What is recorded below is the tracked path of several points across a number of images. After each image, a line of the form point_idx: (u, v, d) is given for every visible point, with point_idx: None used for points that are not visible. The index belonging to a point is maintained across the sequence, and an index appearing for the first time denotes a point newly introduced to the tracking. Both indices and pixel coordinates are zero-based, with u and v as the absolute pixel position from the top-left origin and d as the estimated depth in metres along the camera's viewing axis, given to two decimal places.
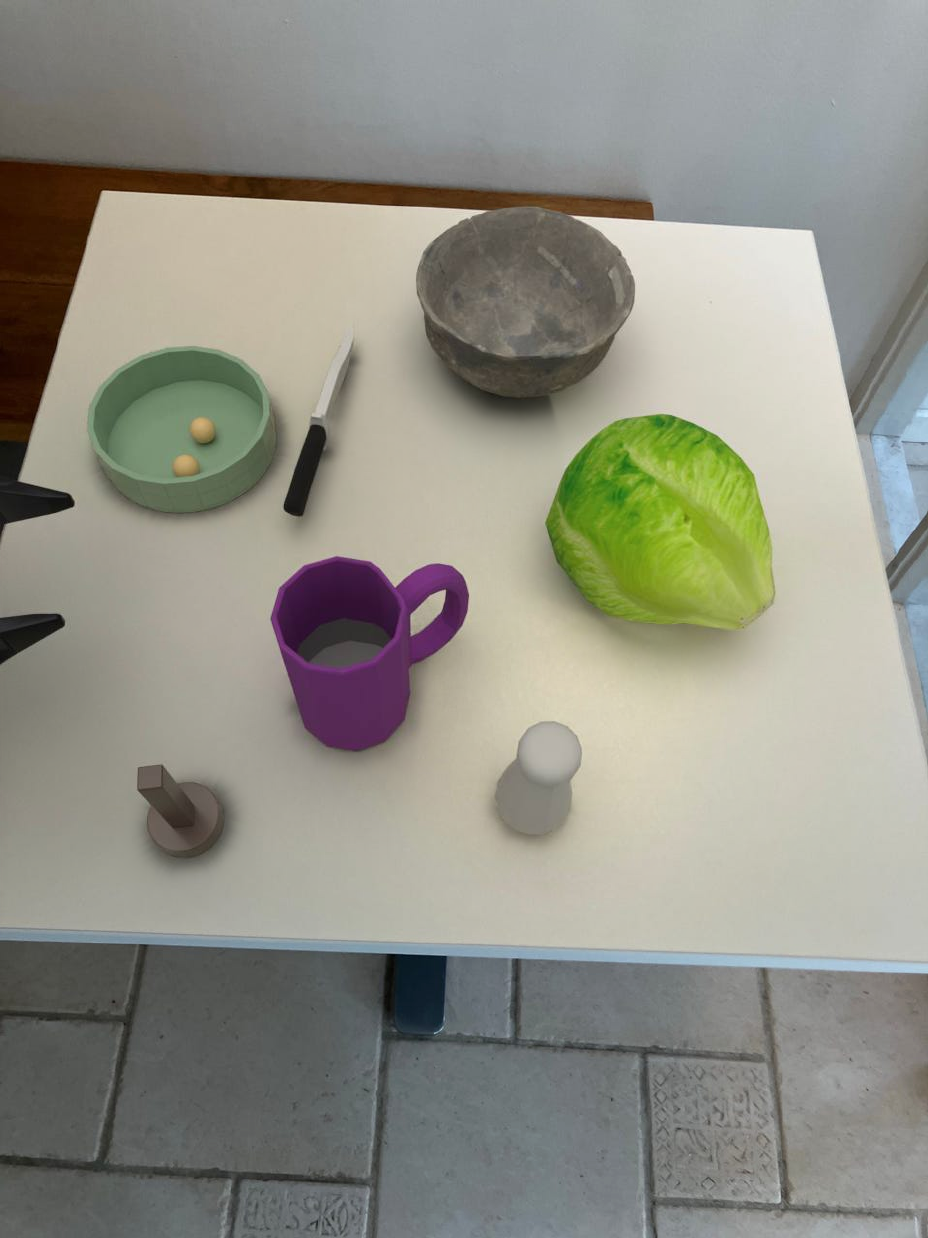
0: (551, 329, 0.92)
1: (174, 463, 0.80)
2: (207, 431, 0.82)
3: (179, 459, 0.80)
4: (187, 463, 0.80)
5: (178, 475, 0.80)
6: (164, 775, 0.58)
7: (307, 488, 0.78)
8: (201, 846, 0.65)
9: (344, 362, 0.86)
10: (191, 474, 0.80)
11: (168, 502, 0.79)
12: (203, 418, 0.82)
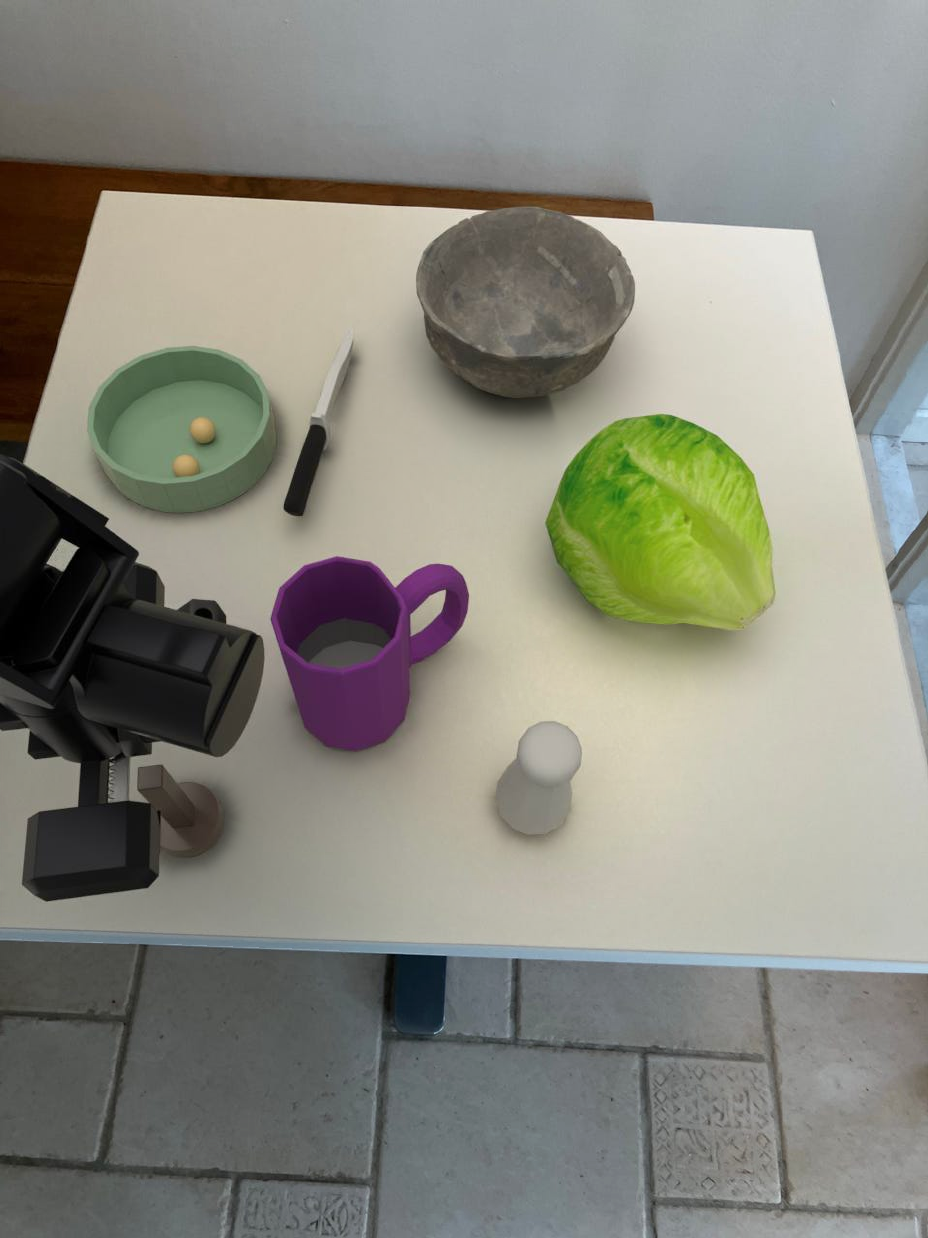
0: (551, 329, 0.92)
1: (174, 463, 0.80)
2: (207, 431, 0.82)
3: (179, 459, 0.80)
4: (187, 463, 0.80)
5: (178, 475, 0.80)
6: (164, 775, 0.58)
7: (307, 488, 0.78)
8: (201, 846, 0.65)
9: (344, 362, 0.86)
10: (191, 474, 0.80)
11: (168, 502, 0.79)
12: (203, 418, 0.82)
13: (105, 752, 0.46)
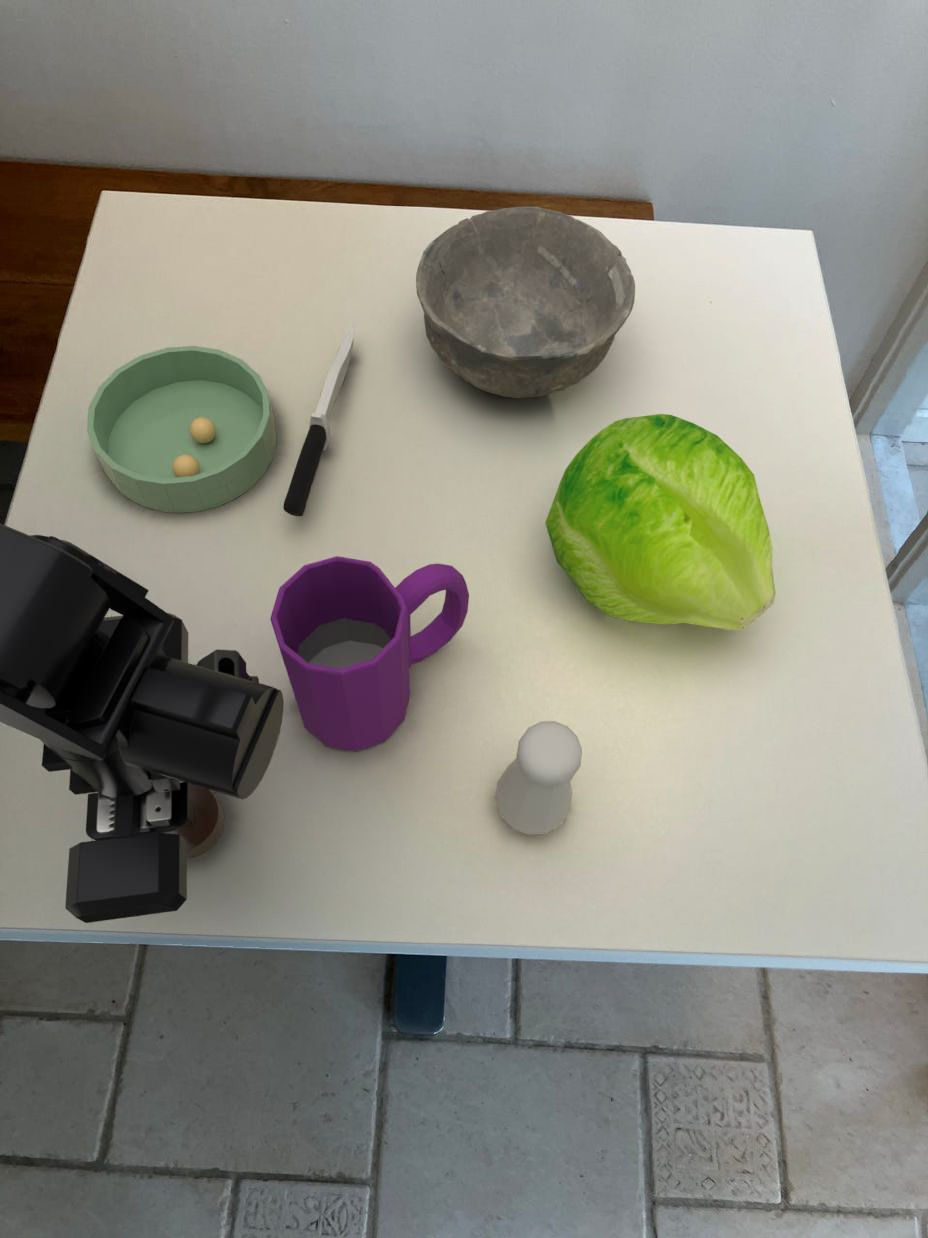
0: (551, 329, 0.92)
1: (174, 463, 0.80)
2: (207, 431, 0.82)
3: (179, 459, 0.80)
4: (187, 463, 0.80)
5: (178, 475, 0.80)
6: None
7: (307, 488, 0.78)
8: (201, 846, 0.65)
9: (344, 362, 0.86)
10: (191, 474, 0.80)
11: (168, 502, 0.79)
12: (203, 418, 0.82)
13: (138, 788, 0.51)
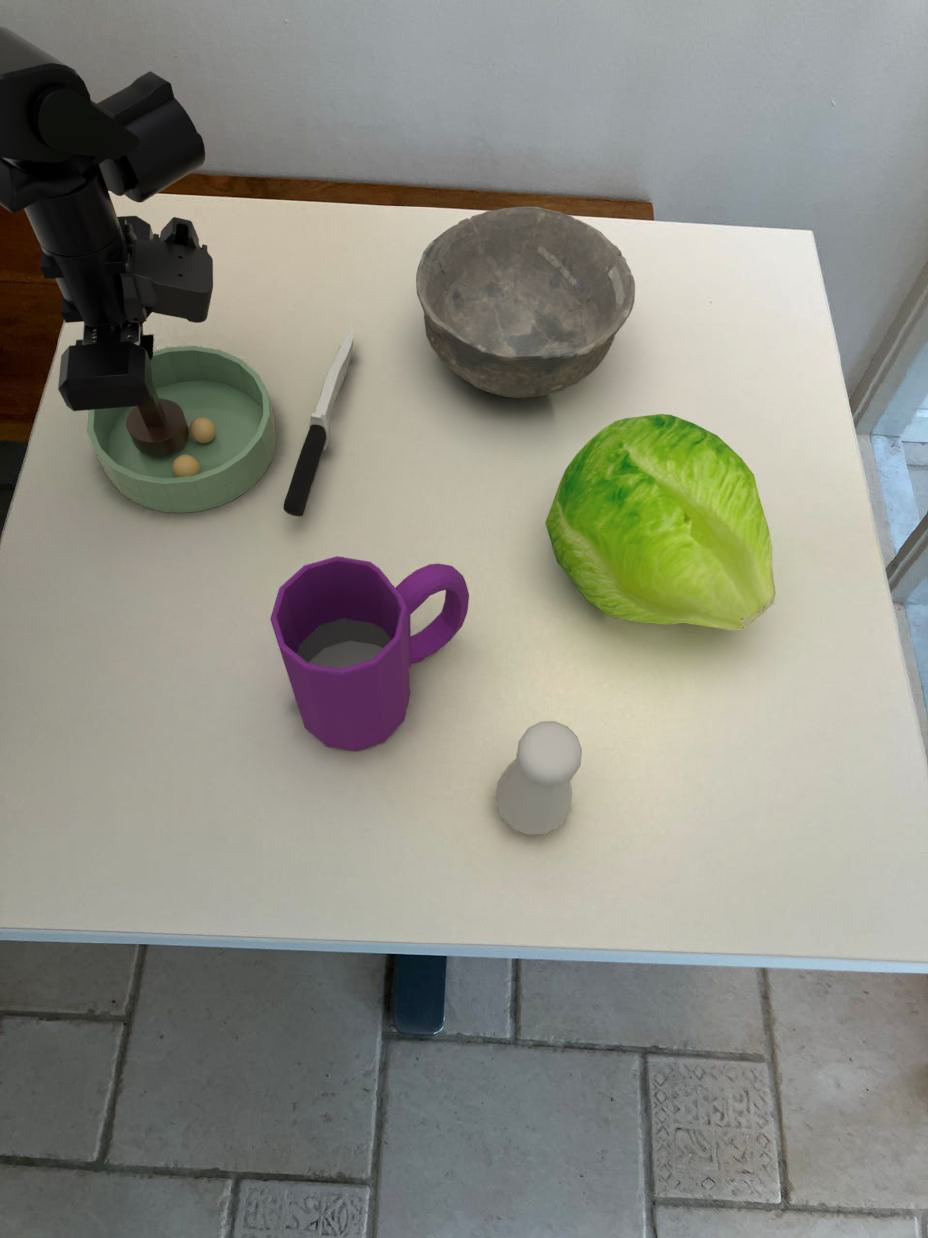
0: (551, 329, 0.92)
1: (174, 463, 0.80)
2: (207, 431, 0.82)
3: (179, 459, 0.80)
4: (187, 463, 0.80)
5: (178, 475, 0.80)
6: None
7: (307, 488, 0.78)
8: (169, 441, 0.80)
9: (344, 362, 0.86)
10: (191, 474, 0.80)
11: (168, 502, 0.79)
12: (203, 418, 0.82)
13: (114, 316, 0.67)
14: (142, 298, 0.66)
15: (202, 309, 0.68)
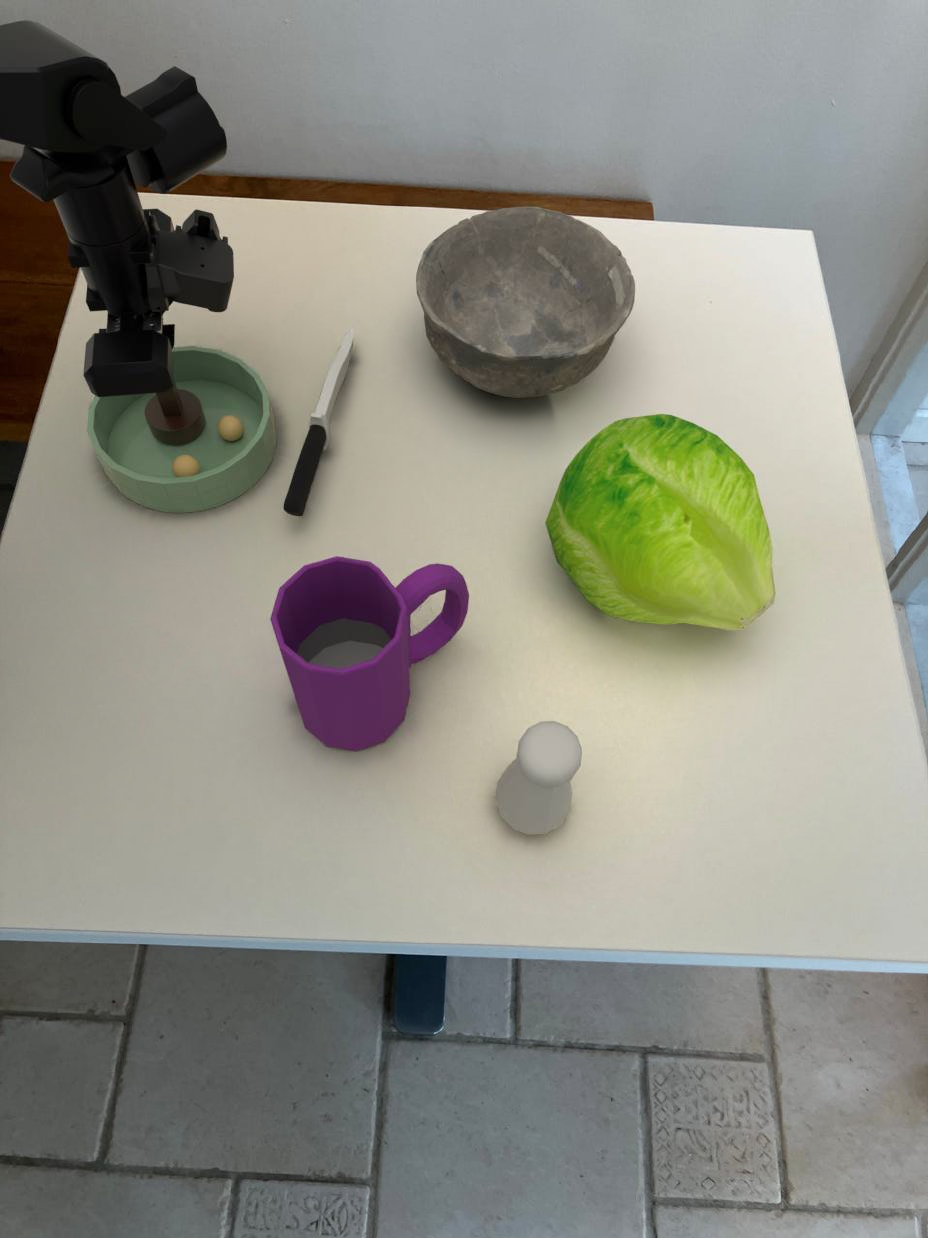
0: (551, 329, 0.92)
1: (174, 463, 0.80)
2: None
3: (179, 459, 0.80)
4: (187, 463, 0.80)
5: (178, 475, 0.80)
6: None
7: (307, 488, 0.78)
8: (187, 430, 0.82)
9: (344, 362, 0.86)
10: (191, 474, 0.80)
11: (168, 502, 0.79)
12: None
13: (137, 305, 0.69)
14: (165, 288, 0.68)
15: (223, 299, 0.70)
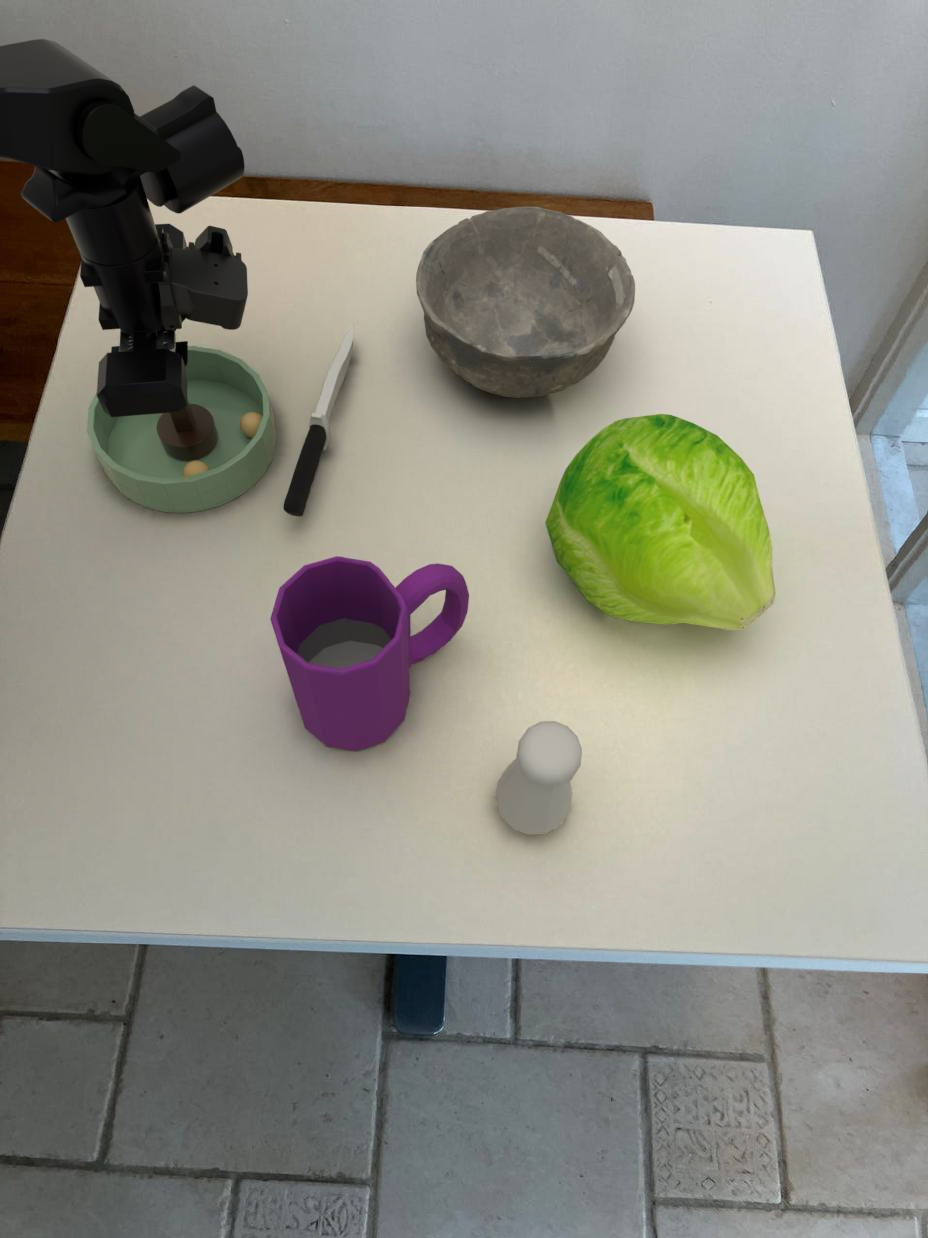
0: (551, 329, 0.92)
1: (191, 472, 0.79)
2: (244, 433, 0.83)
3: (198, 472, 0.80)
4: None
5: None
6: None
7: (307, 488, 0.78)
8: (199, 446, 0.81)
9: (344, 362, 0.86)
10: None
11: (168, 502, 0.79)
12: None
13: (150, 323, 0.68)
14: (178, 306, 0.67)
15: (237, 316, 0.69)
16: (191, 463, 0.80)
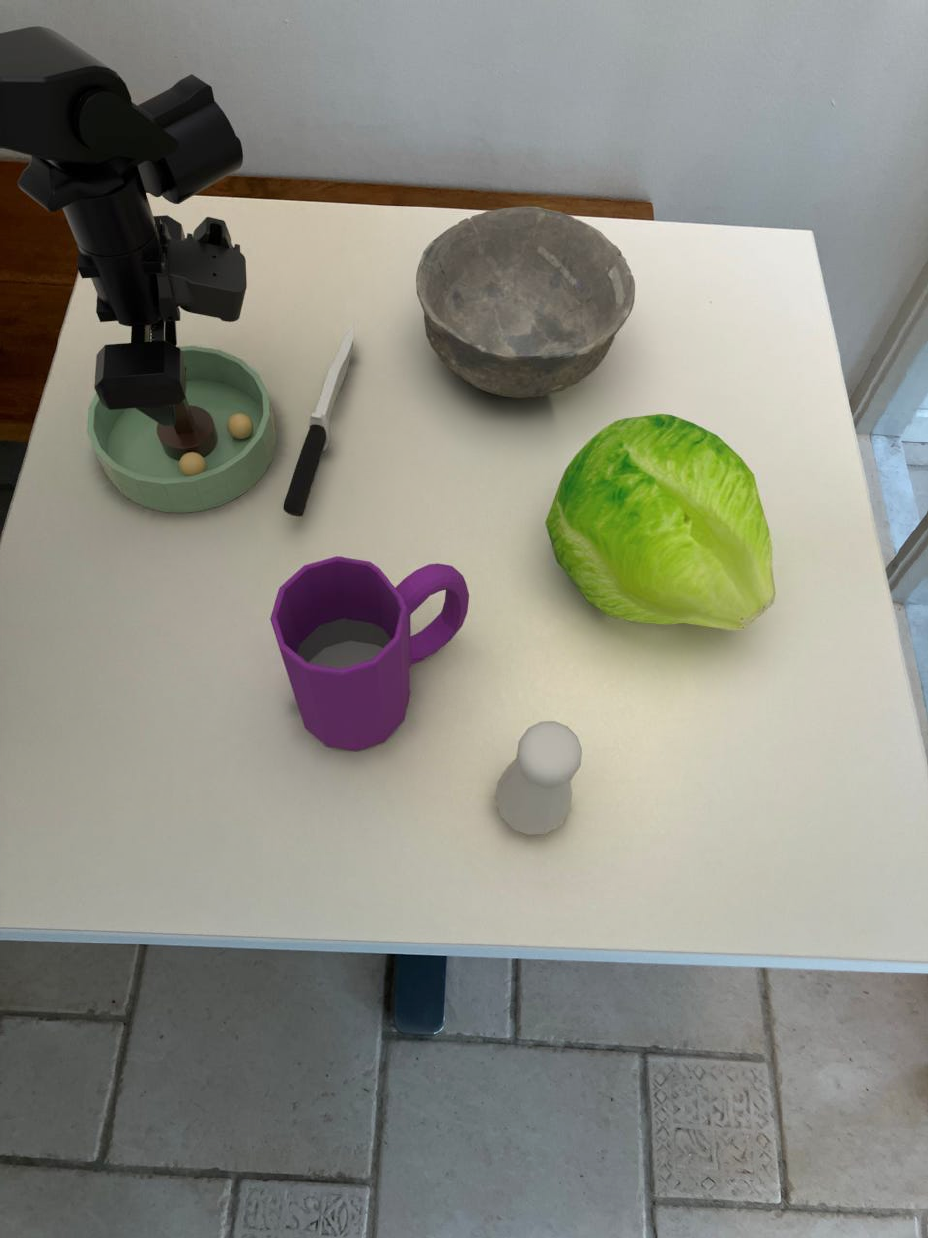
0: (551, 329, 0.92)
1: (183, 456, 0.80)
2: (238, 438, 0.84)
3: (189, 455, 0.80)
4: (195, 462, 0.80)
5: (181, 468, 0.80)
6: None
7: (307, 488, 0.78)
8: (199, 447, 0.82)
9: (344, 362, 0.86)
10: (194, 473, 0.80)
11: (168, 502, 0.79)
12: None
13: (148, 315, 0.67)
14: (177, 297, 0.66)
15: (235, 308, 0.69)
16: None
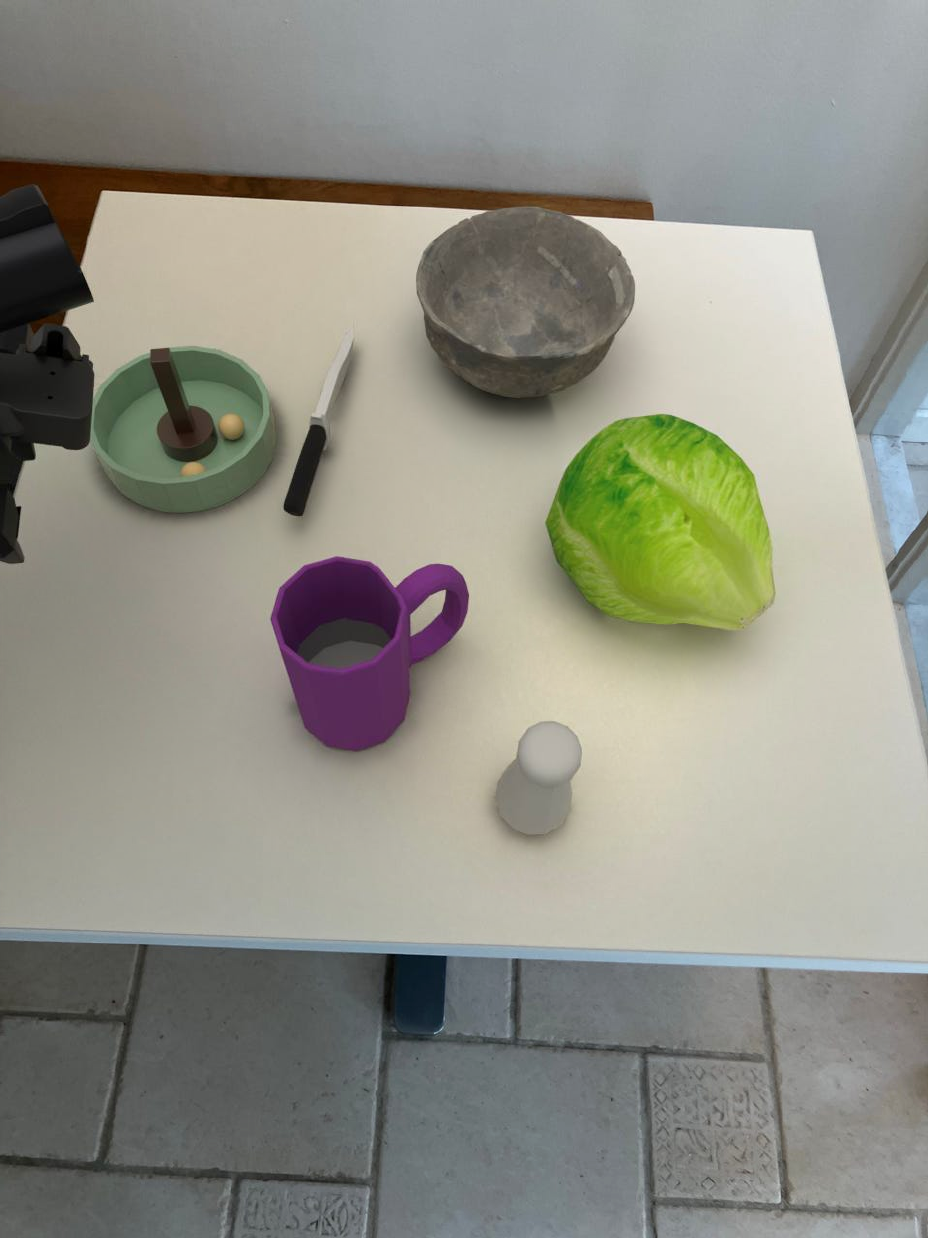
0: (551, 329, 0.92)
1: (186, 475, 0.79)
2: None
3: None
4: None
5: None
6: (170, 357, 0.75)
7: (307, 488, 0.78)
8: (199, 447, 0.82)
9: (344, 362, 0.86)
10: None
11: (168, 502, 0.79)
12: None
13: None
14: (1, 427, 0.54)
15: (80, 436, 0.56)
16: (187, 466, 0.80)
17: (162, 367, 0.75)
